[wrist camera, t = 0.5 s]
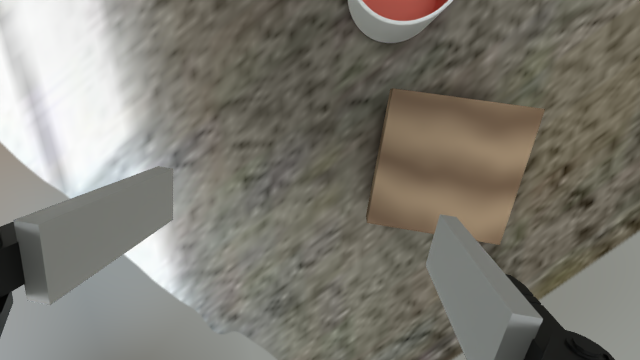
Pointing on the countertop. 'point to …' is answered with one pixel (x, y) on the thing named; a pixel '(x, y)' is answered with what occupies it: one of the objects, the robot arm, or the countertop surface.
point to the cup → (394, 17)
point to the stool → (450, 162)
